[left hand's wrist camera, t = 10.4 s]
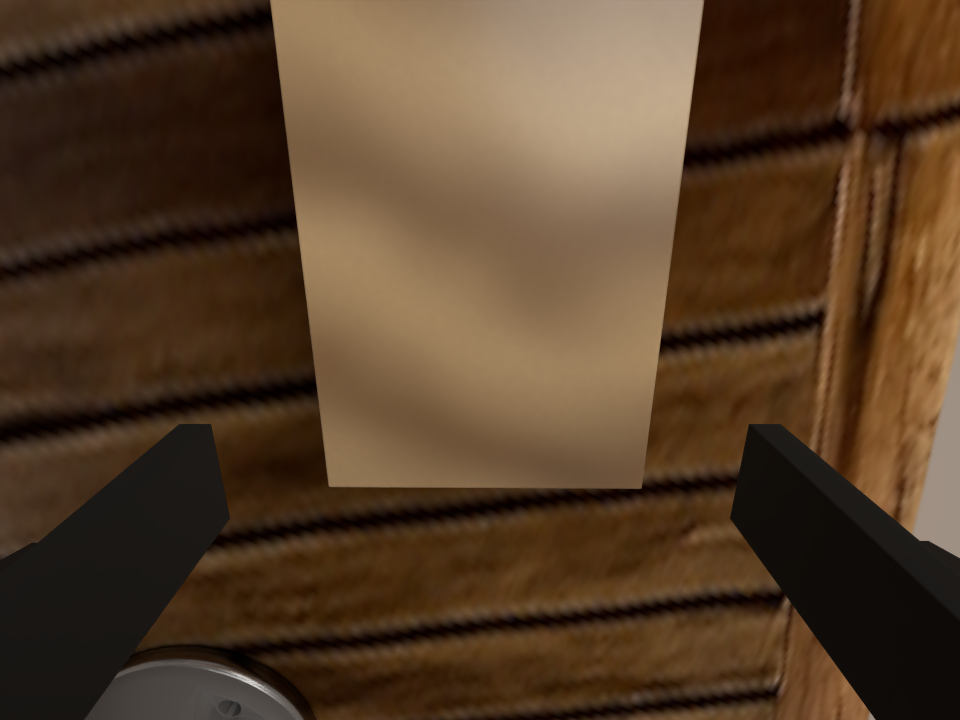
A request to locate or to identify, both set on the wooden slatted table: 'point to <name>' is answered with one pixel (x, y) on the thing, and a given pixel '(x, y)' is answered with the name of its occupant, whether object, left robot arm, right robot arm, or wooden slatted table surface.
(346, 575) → the wooden slatted table surface
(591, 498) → the wooden slatted table surface
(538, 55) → the cabinet
